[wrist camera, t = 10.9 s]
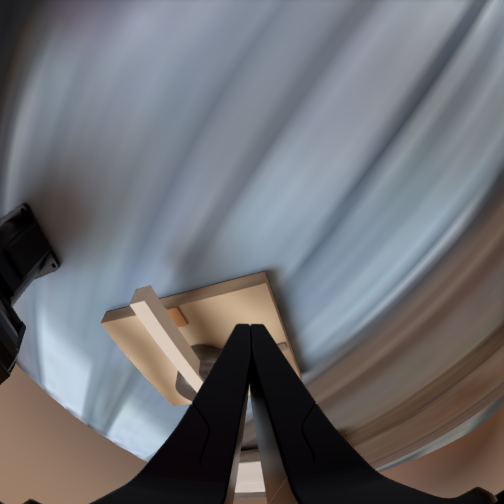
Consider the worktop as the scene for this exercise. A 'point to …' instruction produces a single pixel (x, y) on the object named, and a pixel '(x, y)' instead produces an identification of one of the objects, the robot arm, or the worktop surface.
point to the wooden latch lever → (174, 343)
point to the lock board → (199, 326)
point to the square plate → (250, 473)
